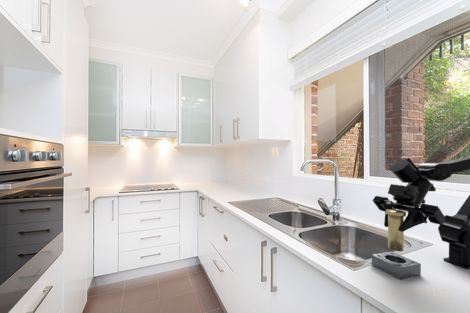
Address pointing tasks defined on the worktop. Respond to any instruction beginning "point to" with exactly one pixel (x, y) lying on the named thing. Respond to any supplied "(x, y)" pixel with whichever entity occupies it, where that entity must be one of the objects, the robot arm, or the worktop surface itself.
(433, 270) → the worktop surface
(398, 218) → the brass flanged cylinder
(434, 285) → the worktop surface
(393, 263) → the jig
